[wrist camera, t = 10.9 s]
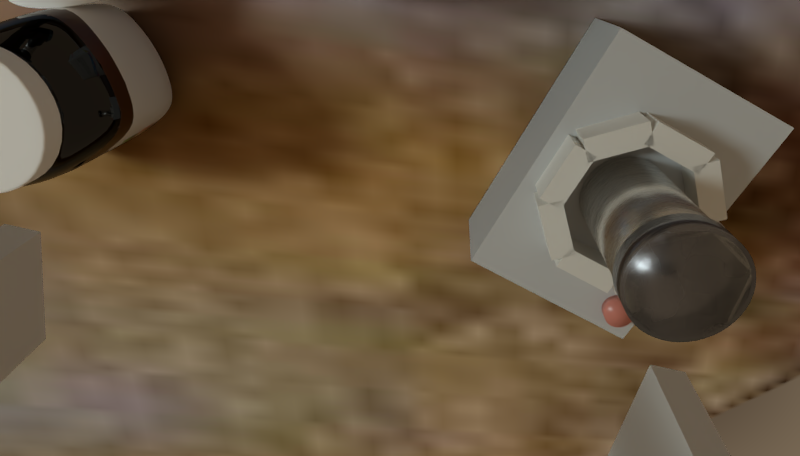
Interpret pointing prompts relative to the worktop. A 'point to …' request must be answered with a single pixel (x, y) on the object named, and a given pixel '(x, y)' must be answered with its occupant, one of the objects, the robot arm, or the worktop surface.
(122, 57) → the spread jar
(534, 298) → the worktop surface
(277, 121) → the worktop surface
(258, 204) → the worktop surface
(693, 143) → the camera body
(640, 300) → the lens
